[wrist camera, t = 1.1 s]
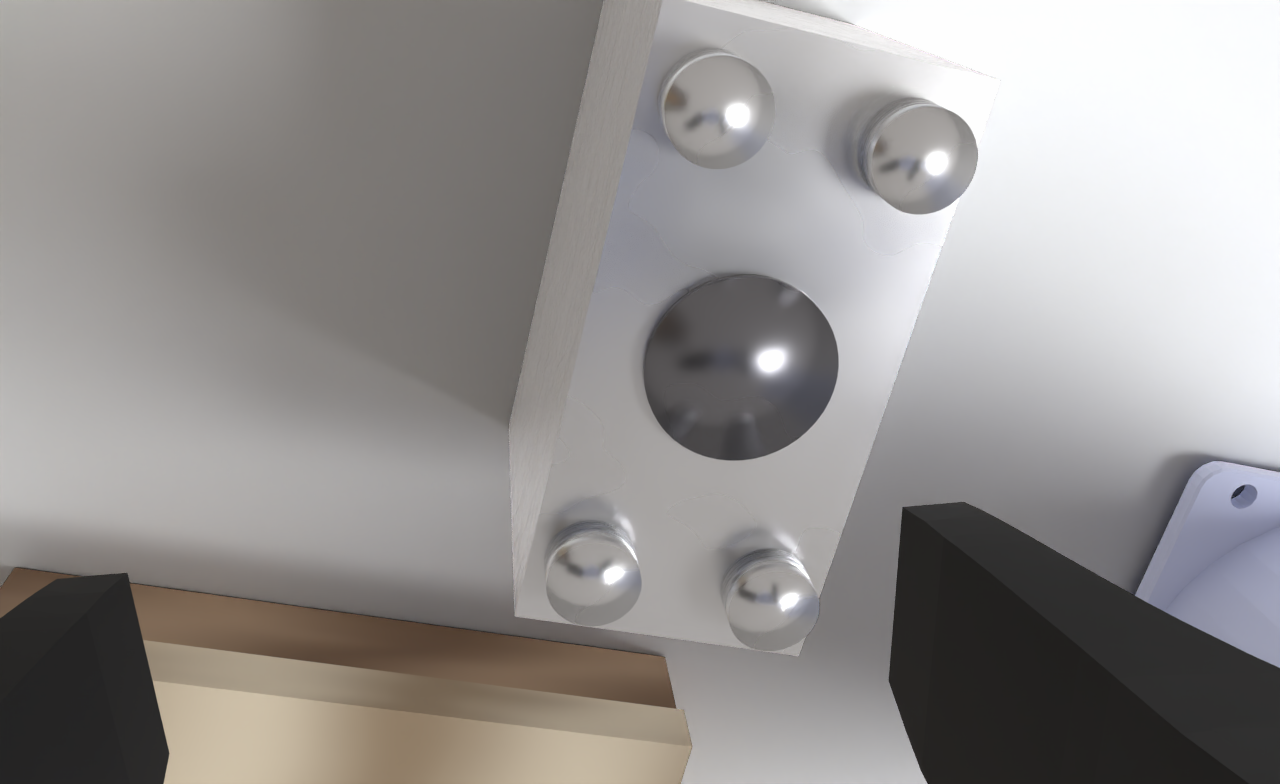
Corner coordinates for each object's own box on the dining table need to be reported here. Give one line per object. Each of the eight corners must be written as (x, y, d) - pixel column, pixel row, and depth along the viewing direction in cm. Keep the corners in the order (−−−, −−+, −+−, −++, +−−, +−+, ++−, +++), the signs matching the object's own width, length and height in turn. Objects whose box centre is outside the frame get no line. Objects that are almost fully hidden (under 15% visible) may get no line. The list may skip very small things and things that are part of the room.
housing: (852, 23, 19) (1021, 89, 13) (720, 462, 22) (809, 683, 16) (611, -39, 18) (672, 0, 12) (508, 425, 21) (515, 642, 15)
